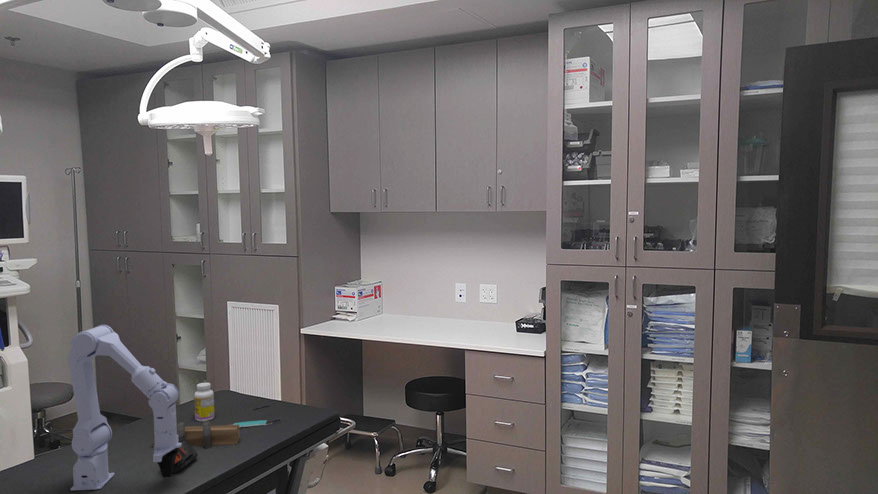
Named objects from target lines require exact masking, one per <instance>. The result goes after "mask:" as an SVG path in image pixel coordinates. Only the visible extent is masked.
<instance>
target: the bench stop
mask: <svg viewBox="0 0 878 494" xmlns="http://www.w3.org/2000/svg"><path fill="white" fill-rule="evenodd" d="M176 423H177V435H178V440H180V439H182V438H185V439H186V440H187V442H188V443H189V444H190V445H191V446H192V447H199V446H200V447H201V446H203V447H202V448H203V449H210V448H211V447H212V446H222V445H227V446H228V445H237V444H238V443H239V441H240V440H241V439H240V438H241V437H240V428H239V425H232V424H225V425H224V424H223V425H222V424H219V425H211V420H209V421H203V422H202V425H200V426H199V425H198V426H197V425H196V426H195V425H194V426H186V425H185V424H186V423H185V422H184V421H180V422H176ZM152 435H153V437H152V439H153V440H152V441H153V447H154V446H155V436H154V431H153V434H152Z"/></svg>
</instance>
